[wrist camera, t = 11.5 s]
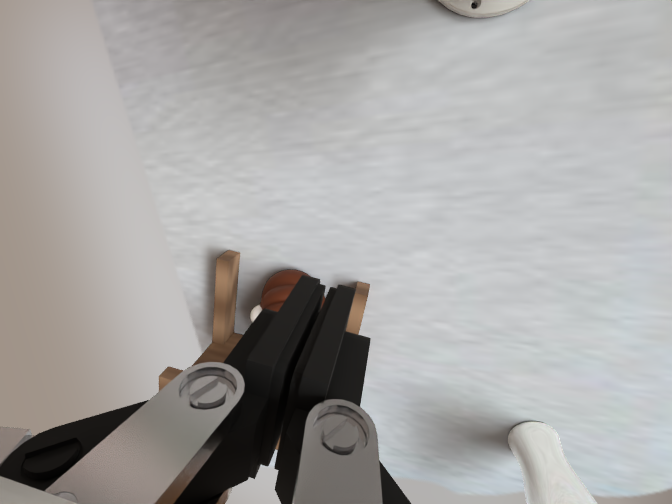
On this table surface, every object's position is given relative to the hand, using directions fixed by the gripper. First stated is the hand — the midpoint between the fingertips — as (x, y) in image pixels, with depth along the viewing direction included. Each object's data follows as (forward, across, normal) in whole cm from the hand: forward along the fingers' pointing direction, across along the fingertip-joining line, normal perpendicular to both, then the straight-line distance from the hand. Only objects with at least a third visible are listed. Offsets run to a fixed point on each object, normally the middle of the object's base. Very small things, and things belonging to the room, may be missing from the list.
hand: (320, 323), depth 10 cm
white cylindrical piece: (+28, -27, +28) cm, 48 cm away
